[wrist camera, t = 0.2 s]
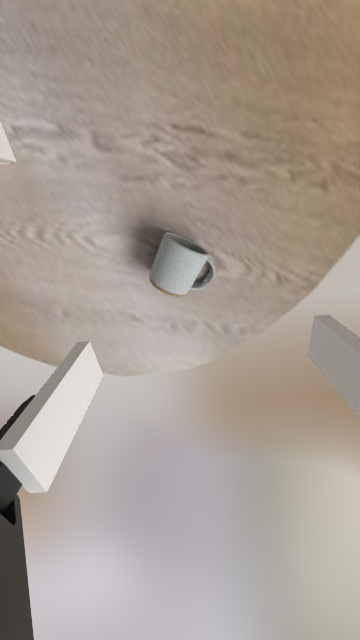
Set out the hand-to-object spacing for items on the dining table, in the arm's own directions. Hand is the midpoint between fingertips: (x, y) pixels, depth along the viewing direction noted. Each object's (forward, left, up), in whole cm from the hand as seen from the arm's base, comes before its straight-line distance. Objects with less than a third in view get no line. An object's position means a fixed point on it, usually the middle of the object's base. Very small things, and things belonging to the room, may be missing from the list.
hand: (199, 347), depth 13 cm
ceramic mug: (+1, -1, -28) cm, 28 cm away
